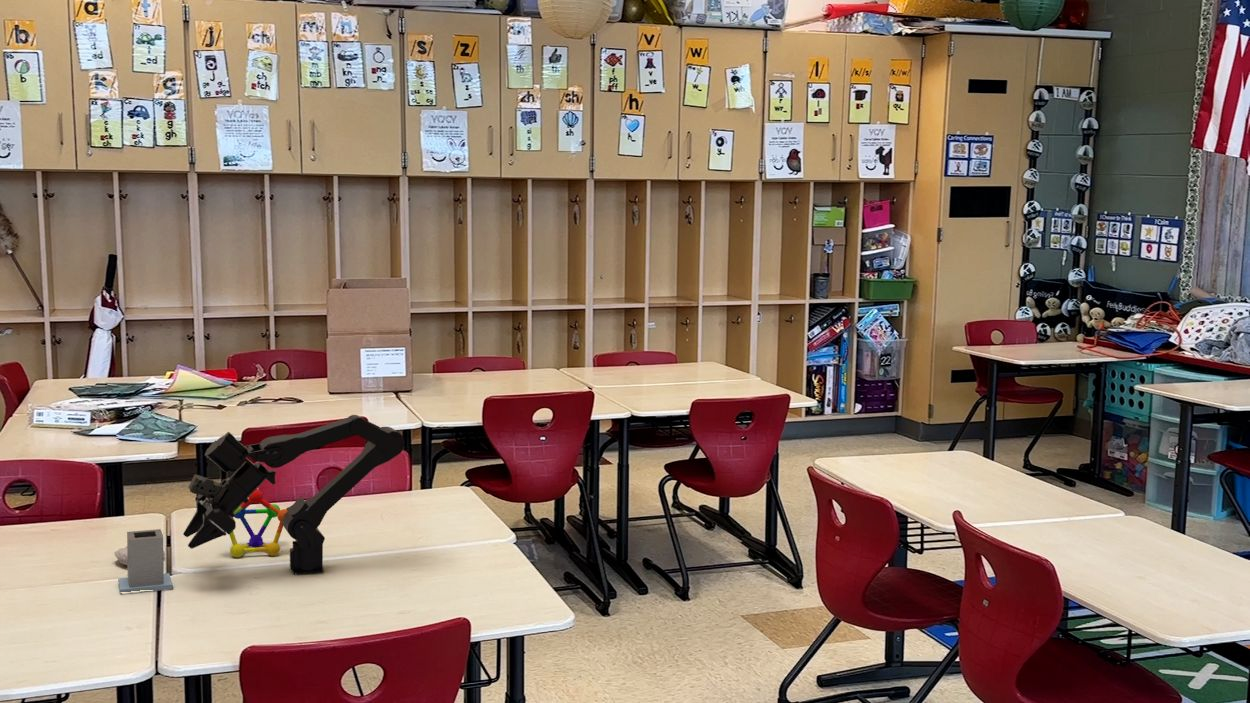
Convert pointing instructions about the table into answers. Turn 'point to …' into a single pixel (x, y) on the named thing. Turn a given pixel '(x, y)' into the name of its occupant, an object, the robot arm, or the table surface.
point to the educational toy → (257, 540)
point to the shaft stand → (166, 586)
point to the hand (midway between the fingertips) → (187, 541)
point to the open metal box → (145, 558)
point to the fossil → (123, 555)
